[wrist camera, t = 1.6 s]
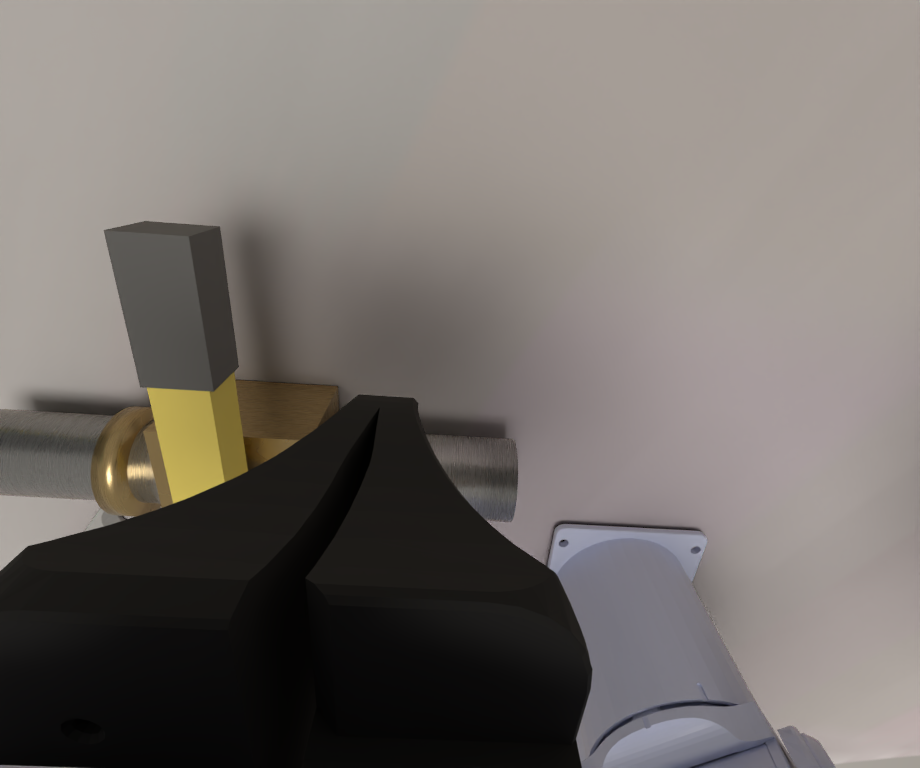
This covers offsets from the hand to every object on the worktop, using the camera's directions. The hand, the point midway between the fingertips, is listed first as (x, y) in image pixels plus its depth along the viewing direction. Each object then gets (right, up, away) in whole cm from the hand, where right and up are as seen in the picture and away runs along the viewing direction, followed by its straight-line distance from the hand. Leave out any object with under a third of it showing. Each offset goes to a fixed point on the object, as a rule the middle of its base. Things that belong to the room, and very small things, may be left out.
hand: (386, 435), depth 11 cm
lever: (-7, 0, +6) cm, 9 cm away
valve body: (-7, -1, +12) cm, 14 cm away
